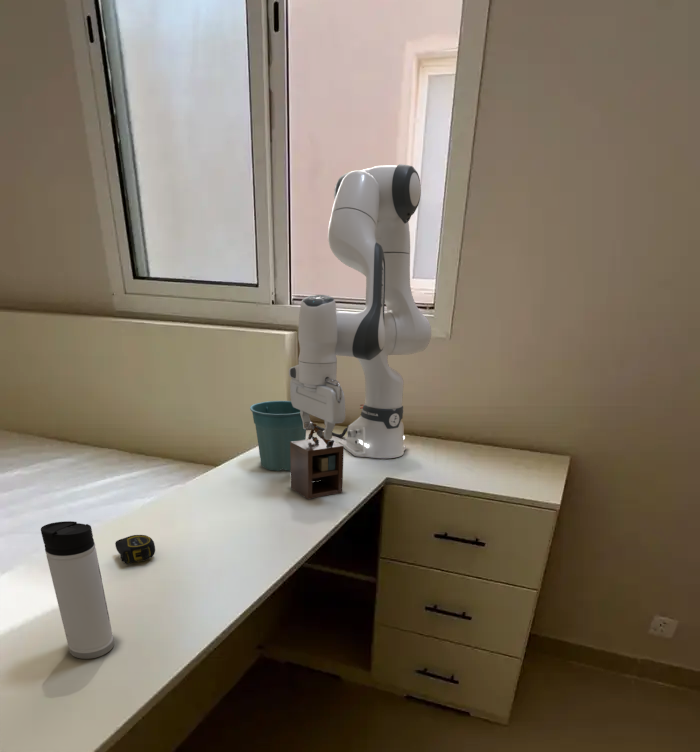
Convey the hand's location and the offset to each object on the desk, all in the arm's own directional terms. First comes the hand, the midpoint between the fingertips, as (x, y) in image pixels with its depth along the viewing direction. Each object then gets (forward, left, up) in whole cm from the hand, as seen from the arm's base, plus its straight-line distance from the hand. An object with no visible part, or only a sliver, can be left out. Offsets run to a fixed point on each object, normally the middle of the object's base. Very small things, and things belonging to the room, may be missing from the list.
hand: (317, 434), depth 147 cm
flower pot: (-23, +2, -14) cm, 27 cm away
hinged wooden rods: (+1, 0, -2) cm, 3 cm away
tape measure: (+18, -51, -14) cm, 56 cm away
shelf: (0, 0, -14) cm, 14 cm away
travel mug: (+45, -65, -14) cm, 80 cm away
